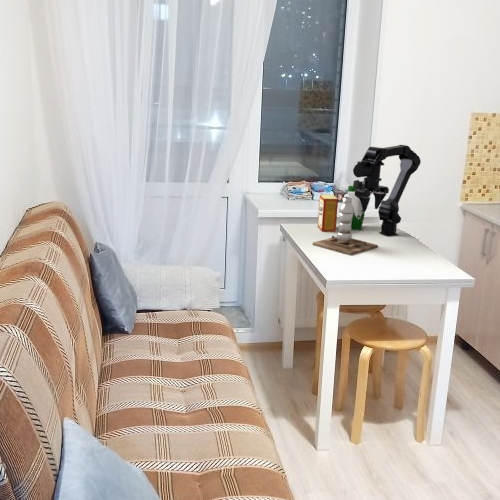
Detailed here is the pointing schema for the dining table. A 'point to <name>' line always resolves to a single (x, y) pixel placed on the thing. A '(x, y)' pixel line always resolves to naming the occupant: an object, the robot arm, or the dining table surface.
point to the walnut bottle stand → (345, 245)
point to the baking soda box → (327, 213)
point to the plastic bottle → (345, 221)
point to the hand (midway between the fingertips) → (370, 210)
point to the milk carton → (356, 209)
